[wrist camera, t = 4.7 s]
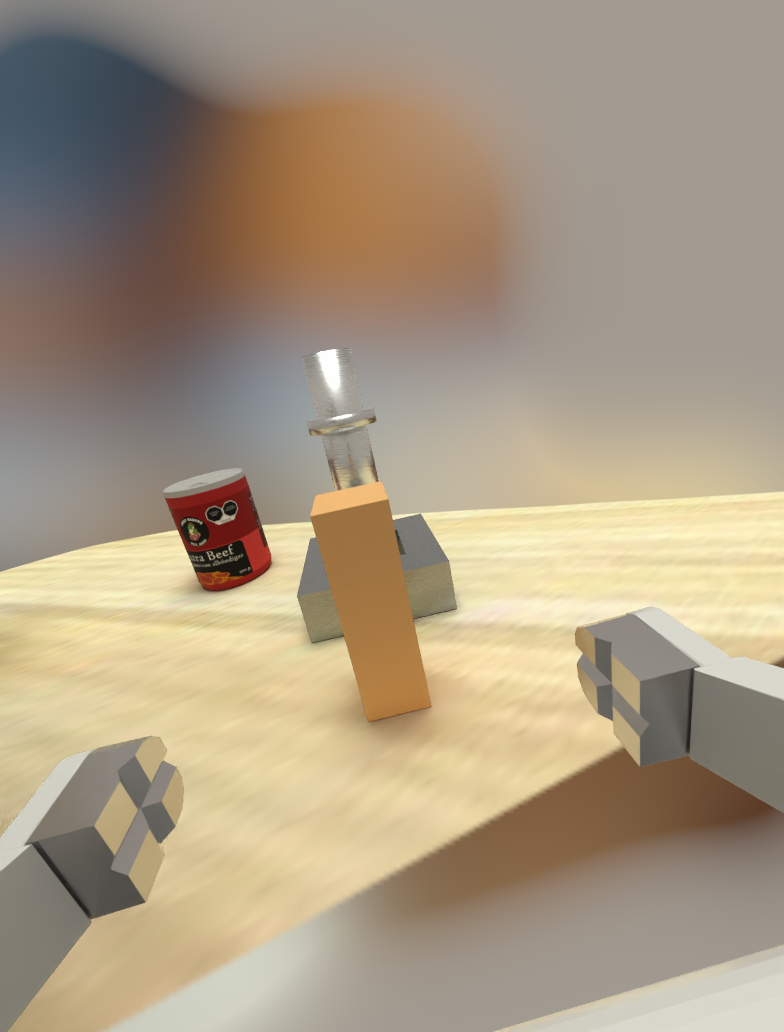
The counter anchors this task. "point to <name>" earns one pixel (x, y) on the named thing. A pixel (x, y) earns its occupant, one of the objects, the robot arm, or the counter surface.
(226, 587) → the canned food
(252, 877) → the counter surface
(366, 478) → the grey socket with post
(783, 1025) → the robot arm
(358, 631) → the tall orange pillar block
